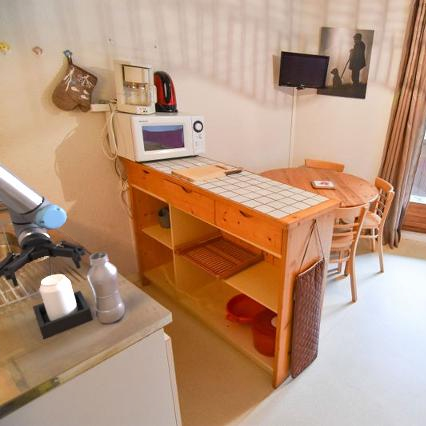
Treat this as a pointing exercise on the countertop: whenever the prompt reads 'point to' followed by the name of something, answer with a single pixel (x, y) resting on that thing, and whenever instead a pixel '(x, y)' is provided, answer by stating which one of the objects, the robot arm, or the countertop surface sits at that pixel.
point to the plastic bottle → (105, 288)
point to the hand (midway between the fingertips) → (48, 272)
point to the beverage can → (58, 296)
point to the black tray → (65, 322)
